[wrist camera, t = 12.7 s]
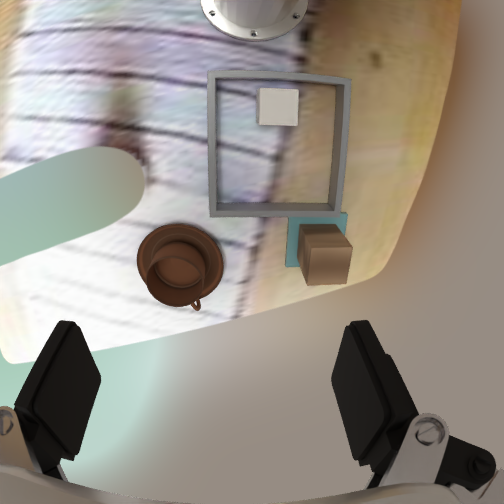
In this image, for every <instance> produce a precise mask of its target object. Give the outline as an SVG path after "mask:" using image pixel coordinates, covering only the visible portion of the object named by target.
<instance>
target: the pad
mask: <svg viewBox="0 0 504 504" xmlns="http://www.w3.org/2000/svg"><path fill="white" fill-rule="evenodd" d="M347 216H348V214H347V213H346V212H340V218H337V217H288V232H287V246H286V259H285V266H286V267H300V265H299V262H298V259H297V248H298V236H299V224H336V225H337V227H338V228H339V229H340V231H341V232H342V233H343V235H344V236H345V230H346V223H347Z"/></svg>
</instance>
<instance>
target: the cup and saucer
mask: <svg viewBox="0 0 504 504" xmlns="http://www.w3.org/2000/svg"><path fill="white" fill-rule="evenodd" d="M137 267H138V271H139V274H140V276H141V278H142V279H143V281H144V282H145V284H146V285H147V288H148V290H149V292H150V293H151V294H152V296H153V297H154V298H155V299H157V300H158V301H159V302H161V303H163V304H165V305H168V306H173V307H183V306H187V305H190V304H191V306H192V307H193V308H194V309H195V310H196V311H199V310H200V308H201V304H200V300H199V299H201V298H203V297H205V296H207V295H209V294H210V293H211V292H212V291H213V290H214V289H215V288H216V287H217V286H218V284H219V282H220V281H221V278H222V275H223V258H222V255H221V252H220V250H219V248H218V246H217V245H216V243H215V242H214V241H213V240H212V239H211V238H210V237H209V236H208V235H207V234H206V233H204V232H203V231H201V230H199V229H197V228H195V227H192V226H188V225H183V224H171V225H166V226H162V227H159V228H157V229H155V230H154V231H152V232H151V233H150V234H148V235H147V236H146V237H145V239H144V240H143V241H142V243H141V245H140V247H139V249H138V253H137ZM195 301H196V302H197V306H196V305H195V303H194V302H195Z"/></svg>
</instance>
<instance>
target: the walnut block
mask: <svg viewBox="0 0 504 504" xmlns="http://www.w3.org/2000/svg"><path fill="white" fill-rule="evenodd" d="M352 250H353V247H352V245H351V244H350V243H349V241H348V240H347V239H346V237H345V236H344V235H343V233H342V232H341V231H340V229H339V228H338V227H337V225H336V224H299V236H298V248H297V259H298V262H299V265H300V268H301V270H302V273H303V276H304V278H305V281H306V284H307V286H309V285H332V284H346V283H347V277H348V272H349V267H350V261H351V256H352Z"/></svg>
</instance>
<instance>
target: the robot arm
mask: <svg viewBox="0 0 504 504" xmlns="http://www.w3.org/2000/svg"><path fill="white" fill-rule="evenodd" d="M200 4H201V7H202V10H203V12H204V14H205V16H206V18H207V19H208V20H209V22H210V23H211V24H212V25H213V26H214V27H215V28H216V29H218V30H219V31H221V32H223V33H224V34H226V35H228V36H231V37H233V38H236V39H241V40H246V41H264V40H269V39H273V38H277V37H279V36H282V35H284V34H286V33H287V32H289V31H290V30H292V29H293V28H294V27H295V26H296V25H297V24H298V23H299V22H300V21H301V20H302V18H303V16H304V14H305V12H306V10H307V6H308V0H200ZM211 14H215V16H213V17H212V16H211ZM293 16H295V17H296V19H294V18H293ZM253 33H254V34H256V36H254V37H253V36H252V35H251V34H253ZM331 381H332V386H333V389H334V393H335V396H336V399H337V403H338V406H339V409H340V413H341V417H342V420H343V424H344V427H345V431H346V434H347V438H348V441H349V445H350V449H351V452H352V456H353V458H354V460H358V461H359V465H360V466H364V465H368V464H370V467H371V470H372V472H373V474H372V475H371V477H370V479H369V481H368V483H367V484H366V486H365V488H364V490H360V491H356V492H351V493H347V494H341V495H335V496H329V497H323V498H315V499H308V500H301V501H292V502H283V503H272V504H504V470H503V469H501V468H500V469H499V470H497V469H496V463H495V459H494V457H493V455H492V454H491V453H490V452H488V451H487V450H485V449H482V448H480V447H477V446H475V445H472V444H469V443H467V442H465V441H462V440H460V439H457V438H455V437H453V436H450V435H449V429H448V426H447V424H446V422H445V421H444V420H443V419H442V418H441V417H439V416H437V415H435V414H431V413H423V414H421V415H419V413H418V411H417V409H416V407H415V404H414V402H413V400H412V398H411V396H410V394H409V392H408V390H407V387H406V386H405V383H404V382H403V379H402V377H401V375H400V373H399V371H398V369H397V367H396V365H395V363H394V361H393V359H392V358H391V356H390V355H388V354H385V352H384V350H383V348H382V346H381V344H380V342H379V340H378V338H377V336H376V334H375V332H374V330H373V328H372V327H371V325H370V323H369V321H368V320H361V321H352V322H351V323H350V325H349V326H346V327H345V330H344V334H343V338H342V342H341V345H340V348H339V352H338V356H337V359H336V363H335V366H334V370H333V373H332V377H331ZM100 383H101V375H100V373H99V370H98V368H97V366H96V364H95V362H94V359H93V357H92V355H91V353H90V350H89V348H88V346H87V343H86V341H85V338H84V336H83V333H82V331H81V328H80V327H79V326H77V325H76V323H75V322H73V321H63V320H61V321H59V322H58V323H57V325H56V327H55V328H54V330H53V332H52V333H51V335H50V337H49V339H48V340H47V342H46V344H45V345H44V347H43V349H42V351H41V353H40V354H39V356H38V358H37V360H36V362H35V364H34V365H33V367H32V369H31V371H30V373H29V375H28V377H27V379H26V381H25V383H24V385H23V387H22V389H21V391H20V393H19V395H18V397H17V399H16V401H15V403H14V405H15V408H14V410H13V409H12V408H10V407H8V406H1V407H0V504H188V503H176V502H166V501H158V500H150V499H143V498H137V497H131V496H125V495H120V494H115V493H110V492H105V491H101V490H97V489H92V488H88V487H85V486H81V485H77V484H73V483H70V482H68V480H67V478H66V476H65V474H64V472H63V470H62V468H61V465H60V460H61V458H64V459H67V460H71V461H74V457H75V455H77V454H78V453H79V451H80V447H81V444H82V440H83V437H84V434H85V430H86V427H87V424H88V420H89V417H90V414H91V410H92V408H93V404H94V401H95V398H96V395H97V392H98V389H99V386H100ZM269 504H271V503H269Z"/></svg>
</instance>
